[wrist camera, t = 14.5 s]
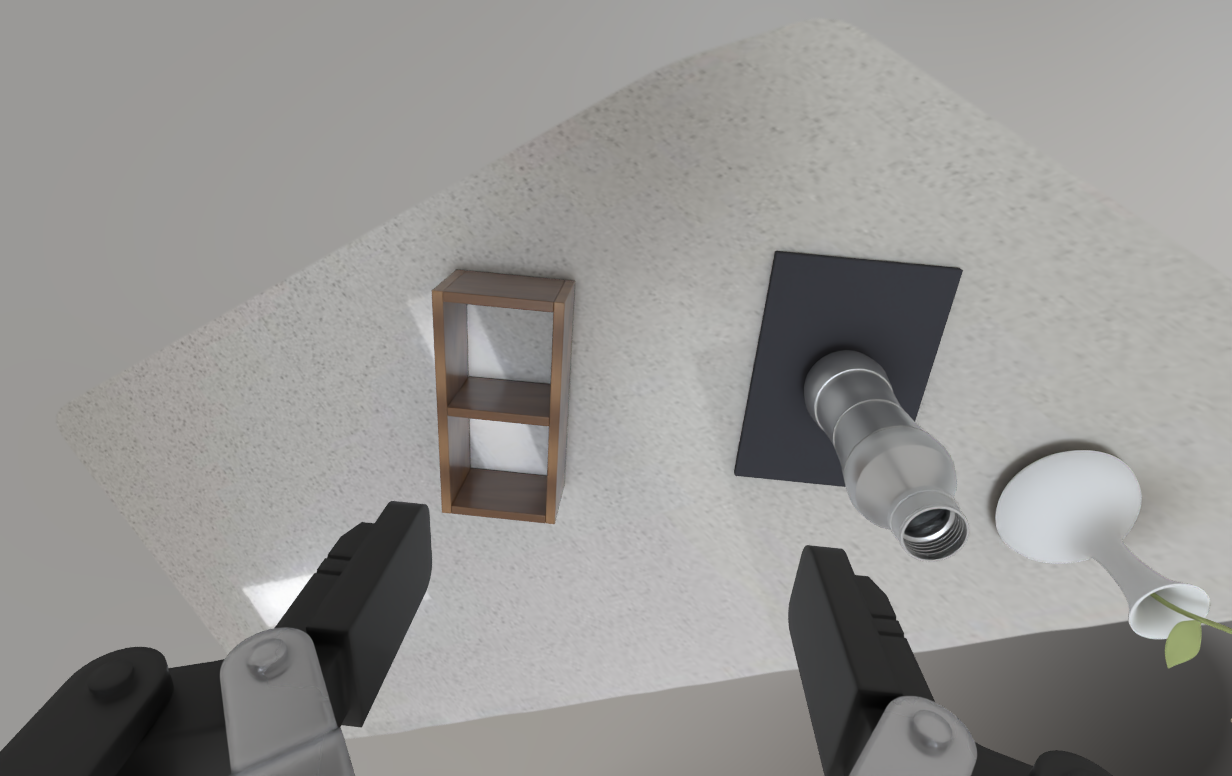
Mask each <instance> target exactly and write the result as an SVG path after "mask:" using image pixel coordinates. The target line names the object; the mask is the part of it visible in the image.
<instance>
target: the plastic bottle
mask: <svg viewBox="0 0 1232 776" xmlns="http://www.w3.org/2000/svg"><path fill="white" fill-rule="evenodd" d="M804 398H805V404H806V408H807V410H808V412H809V414H810V416H811V417H812V418H813V420H814V421H815V422H816V423H817V424H818V426H819V427H820V428H821V429H822V430H823V431H825V433H826V434H827V436H828V437H829V439H830V440H831V442H832V443H833V445H834V447H835V449H836V453H837V455H838V458H839V460H840V463H841V467H842V472H843V476H844V481H845V486H846V490H847V492H848V495H849V498H850V500H851V502H852V504H853V506H854V507H855V508H856V509H857V511H858V512H859V513H860V514H862V515H863V516H864V517H865V518H866V519H868V520H869V521H870V522H872V523H873V524H875V525H877V526H879V527H882V528H885V529H889V530H891V532H892V534H893V535H894V537H895V538H896V539H897V540H898V541H899V543H900V545H901V546H902V548H903V549H904V550H905V552H906V553H907V554H908V555H910V556H911V557H913V558H915V559H917V560H920V561H926V562H935V561H940V560H944V559H947V558H949V557H951V556H953V555H955V554H956V553H957V552H958V551H960V550H961V549H962V547H963V546H964V545H965V543H966V542H967V540H968V537H969V531H970V529H969V523H968V521H967V519H966V516H965V515H964V514H963V513H962V511H961V510H960V507H959V504H958V503H957V501H956V500H955V499H954V496H955V492H956V488H957V477H956V471H955V466H954V462H953V460H952V458H951V455H950V454H949V453H948V451H947V450H946V449H945V447H944V446H943V445H942V444H941V443H940V442H939V441H938V440H936V439H935V438H934V437H933V436H932V435H930V434H929V433H928V432H927V431H925V430H924V429H923V428H922V427H920V426H919V425H918V424H917V423H915V422H914V420H913V419H912V418H911V417H910V416H909V415H908V414H907V413H906V412H905V411H904V409H903V408H902V407H901V406H900V404H899V402H898V400H897V399H896V397H895V395H894V393H893V390H892V386H891V384H890V381H889V379H888V377H887V375H886V373H885V371H884V370H883V368H882V367H881V366H880V365H879V364H878V363H877V362H876V361H874V360H873V359H871V358H870V357H868V356H866V355H864V354H862V353H860V352H856V351H850V350H843V351H837V352H833V353H830V354H828V355H826V356H824V357H823V358H821V359H820V360H819V361H817V362H816V363H815V364H814V365H813V366H812V368H811V369H810V371H809V372H808V374H807V377H806V379H805V384H804Z"/></svg>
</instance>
